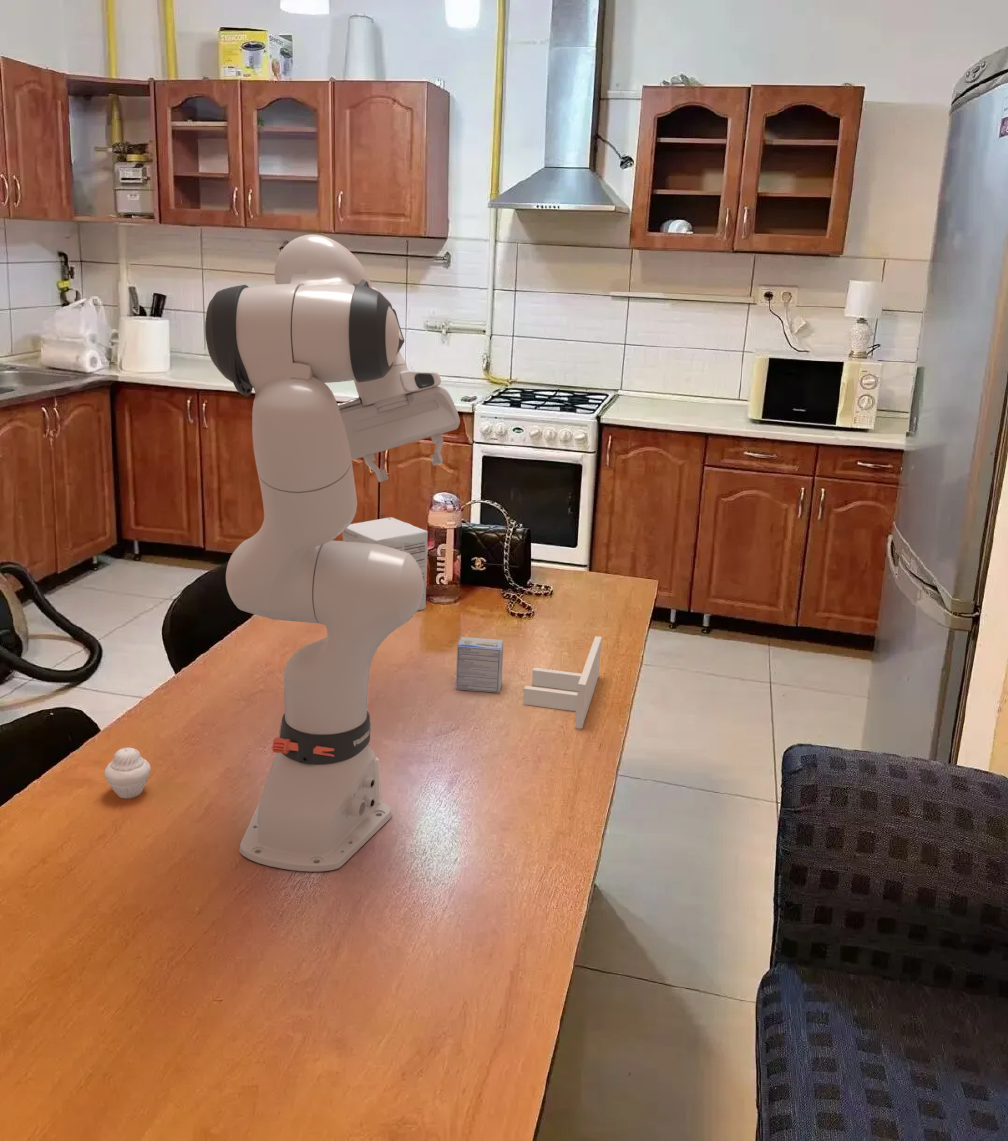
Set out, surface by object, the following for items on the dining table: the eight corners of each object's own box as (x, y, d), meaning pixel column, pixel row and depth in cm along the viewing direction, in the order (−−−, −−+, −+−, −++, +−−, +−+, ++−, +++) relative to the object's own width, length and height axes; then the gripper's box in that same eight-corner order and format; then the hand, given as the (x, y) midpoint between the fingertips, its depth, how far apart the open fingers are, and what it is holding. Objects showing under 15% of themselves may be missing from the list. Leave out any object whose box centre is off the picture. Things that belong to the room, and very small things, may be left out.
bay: (582, 728, 174) (585, 684, 171) (515, 719, 176) (518, 676, 173) (598, 676, 194) (601, 636, 192) (539, 669, 196) (541, 629, 194)
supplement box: (340, 603, 225) (340, 524, 220) (391, 591, 234) (392, 516, 228) (376, 621, 216) (377, 540, 210) (427, 609, 224) (429, 530, 219)
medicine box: (502, 683, 190) (504, 639, 187) (499, 694, 185) (501, 648, 183) (458, 680, 190) (460, 635, 187) (455, 690, 186) (456, 645, 183)
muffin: (160, 793, 149) (157, 749, 146) (120, 809, 144) (116, 763, 142) (137, 777, 152) (134, 734, 150) (97, 792, 148) (94, 747, 146)
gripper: (325, 405, 163) (352, 490, 165) (448, 370, 168) (473, 453, 170) (321, 409, 169) (347, 491, 171) (439, 376, 174) (463, 456, 176)
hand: (411, 472), depth 170 cm, fingers open, 8 cm apart
